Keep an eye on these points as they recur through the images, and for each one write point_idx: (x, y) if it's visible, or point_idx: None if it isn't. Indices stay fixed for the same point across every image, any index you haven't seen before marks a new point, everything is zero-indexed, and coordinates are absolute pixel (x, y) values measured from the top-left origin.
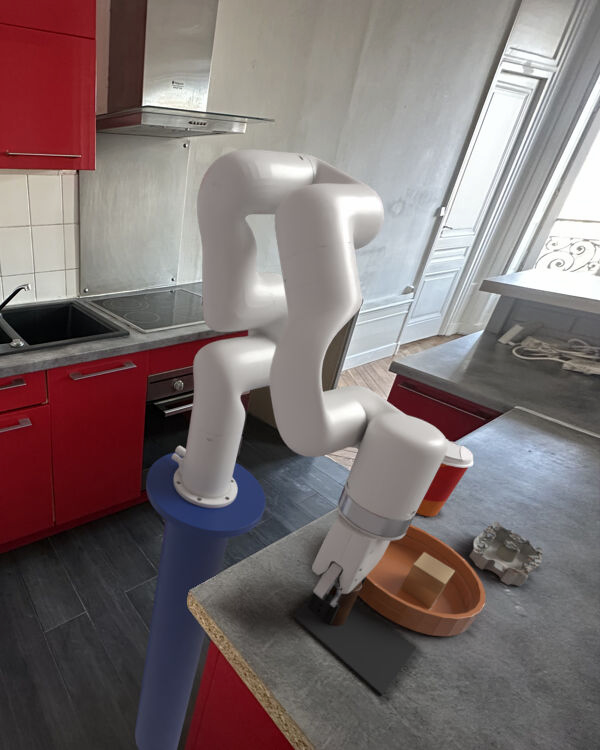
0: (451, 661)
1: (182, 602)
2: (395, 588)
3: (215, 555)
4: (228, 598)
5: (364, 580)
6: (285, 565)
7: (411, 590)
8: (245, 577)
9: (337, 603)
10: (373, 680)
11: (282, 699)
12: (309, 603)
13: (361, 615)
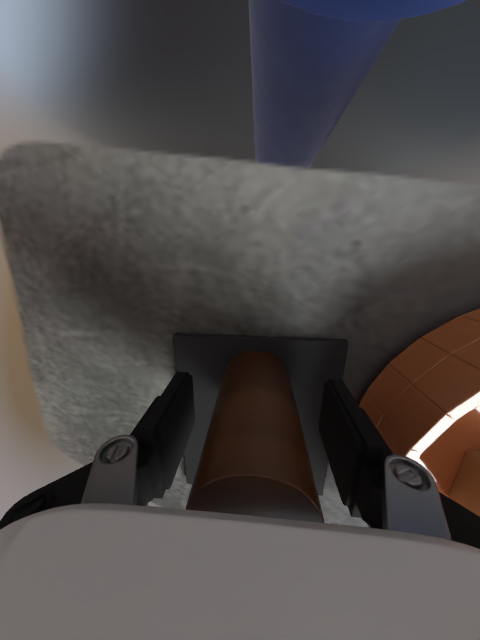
0: (347, 523)
1: (260, 125)
2: (457, 443)
3: (310, 68)
4: (63, 202)
5: (349, 510)
6: (303, 230)
7: (474, 480)
8: (156, 182)
9: (159, 493)
10: (195, 470)
11: (38, 396)
12: (172, 379)
13: (309, 421)
